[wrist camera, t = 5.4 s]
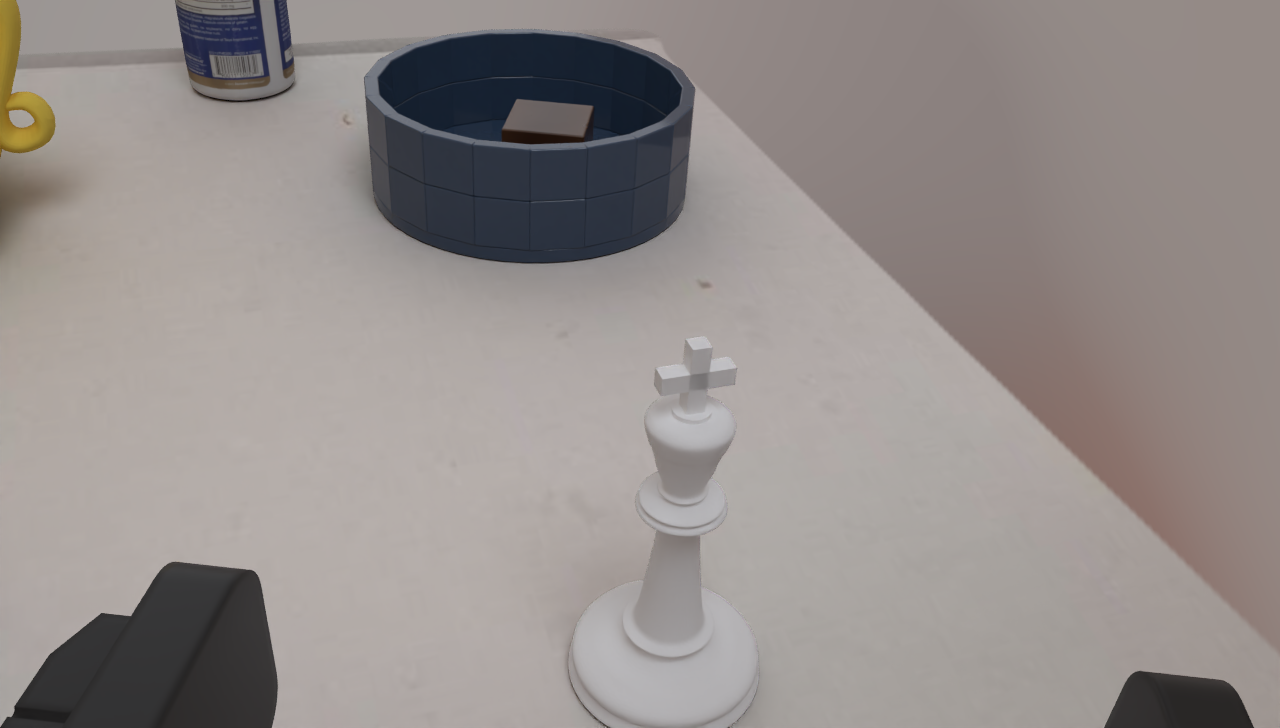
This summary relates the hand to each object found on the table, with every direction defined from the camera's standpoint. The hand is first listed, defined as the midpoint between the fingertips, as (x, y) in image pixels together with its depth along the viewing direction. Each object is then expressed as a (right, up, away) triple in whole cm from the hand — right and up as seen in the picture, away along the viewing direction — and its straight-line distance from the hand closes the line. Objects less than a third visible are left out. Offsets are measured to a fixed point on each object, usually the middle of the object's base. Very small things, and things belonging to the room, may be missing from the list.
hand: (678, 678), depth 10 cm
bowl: (-5, +11, +41) cm, 43 cm away
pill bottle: (-21, +18, +49) cm, 56 cm away
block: (-4, +11, +39) cm, 41 cm away
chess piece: (0, -5, +19) cm, 19 cm away
